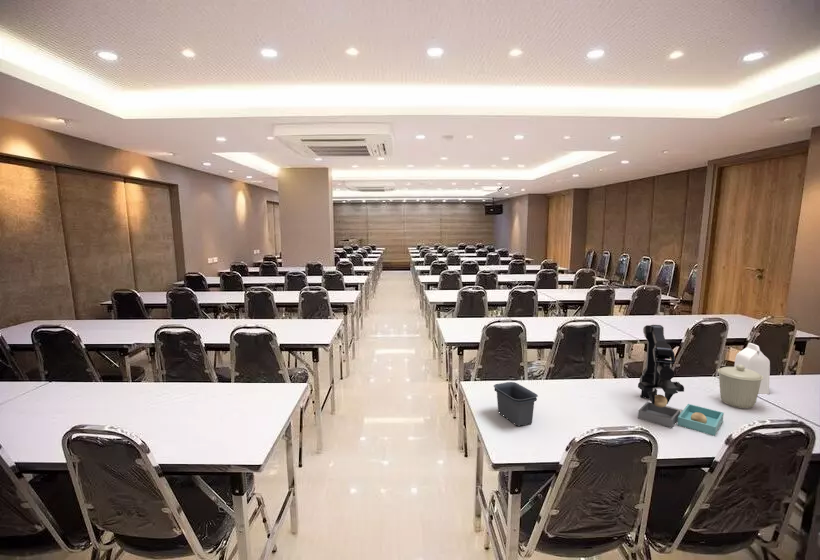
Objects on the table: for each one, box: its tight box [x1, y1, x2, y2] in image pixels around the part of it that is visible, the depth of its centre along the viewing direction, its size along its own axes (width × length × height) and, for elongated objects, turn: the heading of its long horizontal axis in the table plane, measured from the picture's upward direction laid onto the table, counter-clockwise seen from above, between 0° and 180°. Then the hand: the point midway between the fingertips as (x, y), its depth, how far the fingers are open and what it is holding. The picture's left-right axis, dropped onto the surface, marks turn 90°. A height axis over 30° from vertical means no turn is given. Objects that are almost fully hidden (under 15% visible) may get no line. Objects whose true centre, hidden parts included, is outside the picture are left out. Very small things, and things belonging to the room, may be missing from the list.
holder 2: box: [676, 403, 725, 437], centre depth 186 cm, size 14×20×4 cm
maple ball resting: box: [691, 412, 707, 424], centre depth 182 cm, size 6×6×6 cm
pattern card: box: [666, 405, 684, 414], centre depth 199 cm, size 9×6×1 cm, turn 44°
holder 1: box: [637, 401, 680, 429], centre depth 191 cm, size 14×14×4 cm
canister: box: [717, 364, 763, 409], centre depth 204 cm, size 18×18×21 cm
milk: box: [733, 342, 771, 395], centre depth 222 cm, size 12×12×26 cm
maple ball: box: [654, 393, 668, 408], centre depth 190 cm, size 6×6×6 cm
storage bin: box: [493, 381, 539, 427], centre depth 193 cm, size 21×16×14 cm
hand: (659, 403), depth 190 cm, fingers closed on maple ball, 6 cm apart
